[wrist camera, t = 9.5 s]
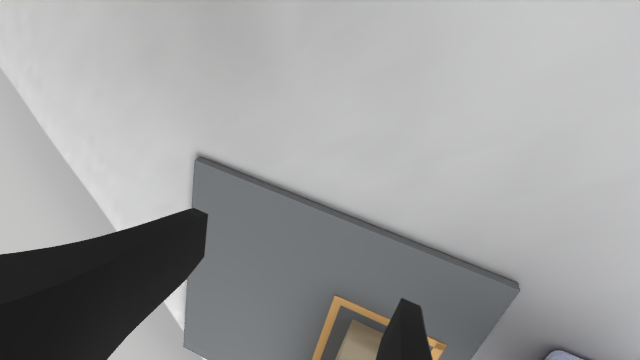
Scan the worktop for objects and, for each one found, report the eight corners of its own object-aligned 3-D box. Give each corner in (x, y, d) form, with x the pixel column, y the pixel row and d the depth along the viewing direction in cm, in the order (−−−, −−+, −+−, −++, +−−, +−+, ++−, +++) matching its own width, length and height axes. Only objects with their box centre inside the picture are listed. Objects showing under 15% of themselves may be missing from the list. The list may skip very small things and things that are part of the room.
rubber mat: (518, 283, 19) (520, 291, 19) (398, 452, 29) (397, 461, 28) (200, 157, 23) (193, 160, 23) (187, 341, 33) (182, 347, 32)
